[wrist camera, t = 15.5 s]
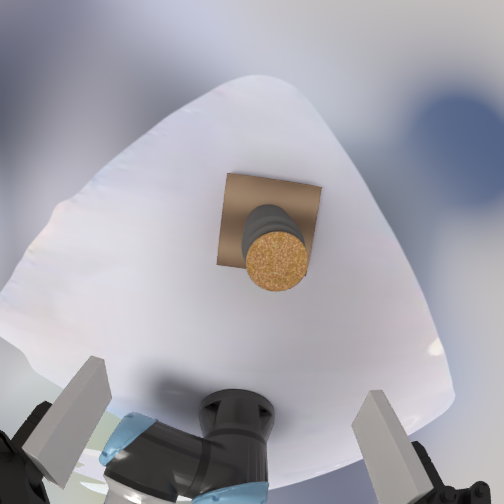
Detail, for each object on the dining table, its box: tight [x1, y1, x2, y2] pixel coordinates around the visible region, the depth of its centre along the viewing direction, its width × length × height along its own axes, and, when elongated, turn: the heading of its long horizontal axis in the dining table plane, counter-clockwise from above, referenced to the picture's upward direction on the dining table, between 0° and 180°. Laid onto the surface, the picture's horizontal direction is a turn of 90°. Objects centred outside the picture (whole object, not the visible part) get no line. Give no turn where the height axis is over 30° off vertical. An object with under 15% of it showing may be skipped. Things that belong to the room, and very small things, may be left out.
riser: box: [217, 173, 322, 276], centre depth 37 cm, size 12×12×4 cm
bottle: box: [241, 204, 308, 292], centre depth 28 cm, size 6×6×15 cm
